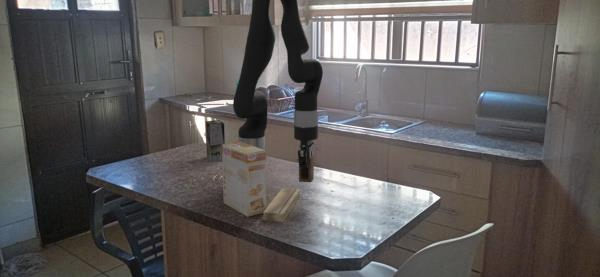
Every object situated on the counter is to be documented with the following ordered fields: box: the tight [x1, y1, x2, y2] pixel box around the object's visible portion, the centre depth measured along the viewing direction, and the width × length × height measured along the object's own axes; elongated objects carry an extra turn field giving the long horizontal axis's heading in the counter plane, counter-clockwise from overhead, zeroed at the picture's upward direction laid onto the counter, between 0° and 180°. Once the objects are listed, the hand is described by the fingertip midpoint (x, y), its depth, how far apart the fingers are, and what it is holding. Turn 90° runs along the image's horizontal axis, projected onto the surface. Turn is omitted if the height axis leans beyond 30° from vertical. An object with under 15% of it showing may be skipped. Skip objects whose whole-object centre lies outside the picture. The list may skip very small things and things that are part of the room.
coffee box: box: [205, 119, 226, 163], centre depth 203 cm, size 9×6×16 cm
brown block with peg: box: [296, 154, 315, 183], centre depth 153 cm, size 5×4×8 cm
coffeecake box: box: [221, 141, 267, 218], centre depth 148 cm, size 15×7×20 cm, turn 37°
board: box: [262, 187, 301, 223], centre depth 150 cm, size 6×22×3 cm, turn 168°
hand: (306, 176), depth 154 cm, fingers closed on brown block with peg, 4 cm apart
